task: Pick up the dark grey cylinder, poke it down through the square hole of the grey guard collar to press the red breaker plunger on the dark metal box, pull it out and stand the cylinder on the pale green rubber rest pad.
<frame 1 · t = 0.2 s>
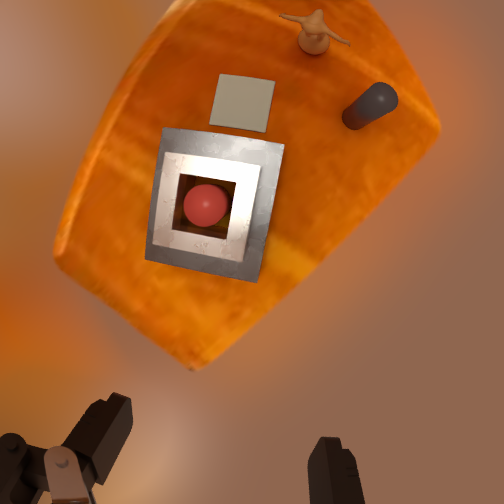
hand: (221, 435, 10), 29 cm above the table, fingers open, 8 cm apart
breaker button: (208, 204, 32), point 4 cm above the table, slide at 0.0 cm
dark grey cylinder: (353, 118, 33), on the table
figurine: (308, 52, 31), on the table
stylus pad: (242, 102, 33), on the table
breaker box: (215, 201, 37), on the table
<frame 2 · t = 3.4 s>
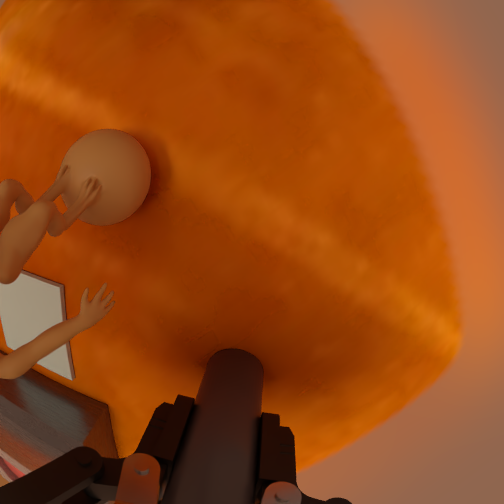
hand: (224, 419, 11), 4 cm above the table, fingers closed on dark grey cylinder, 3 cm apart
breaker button: (34, 460, 14), point 4 cm above the table, slide at 0.0 cm
dark grey cylinder: (234, 371, 15), on the table, touching gripper
figurine: (120, 195, 13), on the table
stylus pad: (31, 319, 15), on the table
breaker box: (55, 432, 19), on the table
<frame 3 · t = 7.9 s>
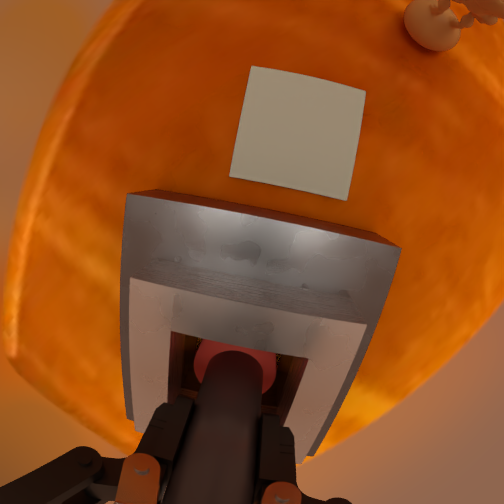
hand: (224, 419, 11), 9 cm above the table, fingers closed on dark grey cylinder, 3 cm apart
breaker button: (238, 348, 17), point 3 cm above the table, slide at 1.6 cm, touching dark grey cylinder
dark grey cylinder: (234, 373, 15), point 5 cm above the table, touching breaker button, gripper
figurine: (416, 44, 14), on the table
stylus pad: (299, 130, 16), on the table
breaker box: (242, 327, 19), on the table
when the fingers open (5 cm above the table, at t = 12.8 s): dark grey cylinder stays where it is, resting on stylus pad.
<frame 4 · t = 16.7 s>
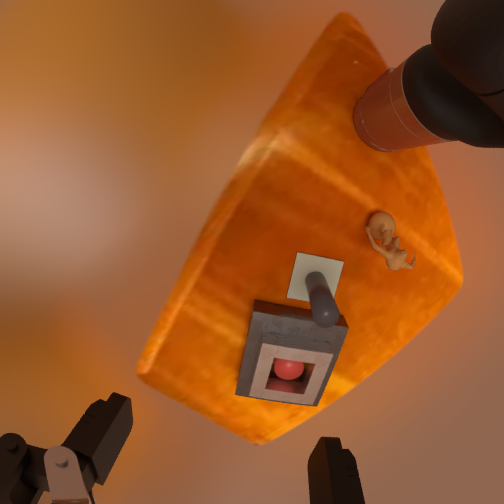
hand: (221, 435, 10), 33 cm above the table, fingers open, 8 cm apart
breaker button: (288, 360, 44), point 3 cm above the table, slide at 1.6 cm
dark grey cylinder: (315, 281, 43), resting on stylus pad
figurine: (373, 229, 41), on the table
stylus pad: (314, 279, 43), on the table
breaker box: (287, 351, 46), on the table
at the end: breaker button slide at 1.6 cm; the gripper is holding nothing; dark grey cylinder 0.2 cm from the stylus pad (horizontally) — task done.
